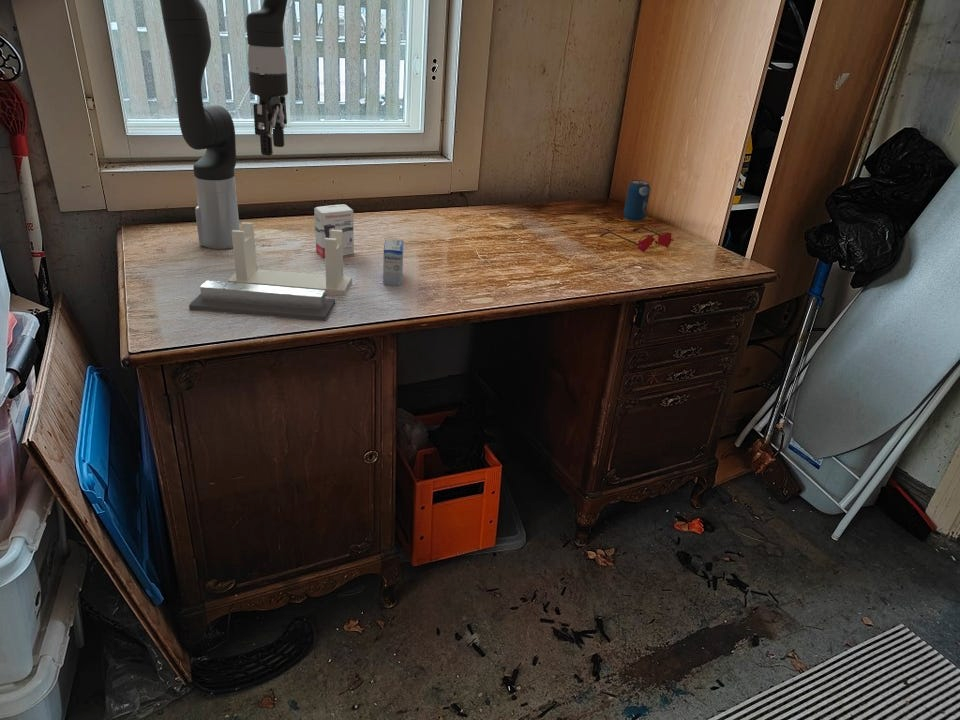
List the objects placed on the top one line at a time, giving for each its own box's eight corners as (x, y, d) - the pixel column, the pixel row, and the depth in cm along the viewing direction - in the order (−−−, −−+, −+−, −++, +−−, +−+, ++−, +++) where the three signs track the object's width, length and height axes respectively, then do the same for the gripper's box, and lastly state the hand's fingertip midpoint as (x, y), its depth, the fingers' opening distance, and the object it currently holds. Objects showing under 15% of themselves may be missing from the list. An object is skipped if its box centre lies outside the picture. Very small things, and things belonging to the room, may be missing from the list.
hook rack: (228, 285, 153) (222, 231, 147) (240, 272, 160) (235, 220, 154) (344, 295, 153) (343, 241, 147) (351, 282, 160) (351, 230, 154)
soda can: (646, 222, 220) (653, 185, 214) (624, 221, 220) (631, 183, 214) (642, 216, 226) (649, 180, 220) (621, 214, 226) (627, 178, 220)
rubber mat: (189, 309, 141) (188, 305, 140) (206, 292, 149) (206, 288, 148) (325, 321, 141) (325, 316, 140) (335, 303, 149) (335, 299, 148)
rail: (201, 300, 143) (200, 286, 141) (208, 293, 146) (206, 280, 144) (321, 310, 143) (321, 297, 141) (325, 303, 146) (325, 290, 144)
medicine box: (384, 272, 166) (384, 238, 162) (402, 273, 167) (403, 239, 163) (382, 285, 160) (383, 249, 155) (402, 286, 160) (403, 250, 156)
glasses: (638, 254, 193) (641, 237, 191) (599, 236, 205) (601, 220, 203) (672, 248, 200) (676, 232, 198) (632, 231, 212) (635, 215, 210)
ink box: (323, 258, 172) (321, 212, 166) (315, 252, 175) (313, 206, 169) (354, 254, 176) (354, 209, 170) (346, 248, 179) (345, 203, 174)
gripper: (260, 64, 147) (266, 142, 154) (237, 71, 134) (244, 156, 142) (295, 67, 147) (299, 145, 154) (275, 75, 134) (280, 159, 142)
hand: (273, 150), depth 148 cm, fingers open, 8 cm apart
